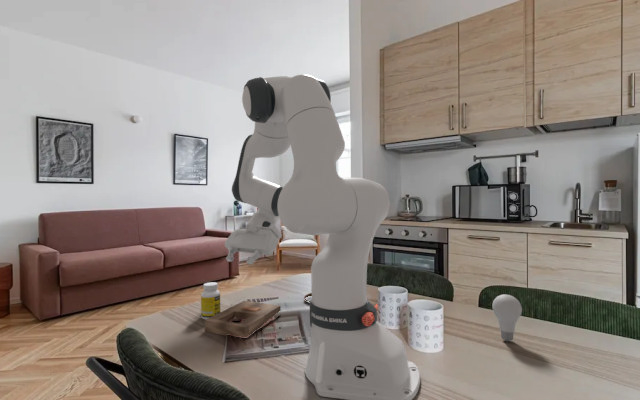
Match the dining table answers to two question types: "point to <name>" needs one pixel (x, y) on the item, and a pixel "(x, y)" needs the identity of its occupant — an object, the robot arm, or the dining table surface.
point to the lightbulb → (507, 314)
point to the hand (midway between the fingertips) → (238, 262)
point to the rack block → (247, 310)
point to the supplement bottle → (210, 300)
